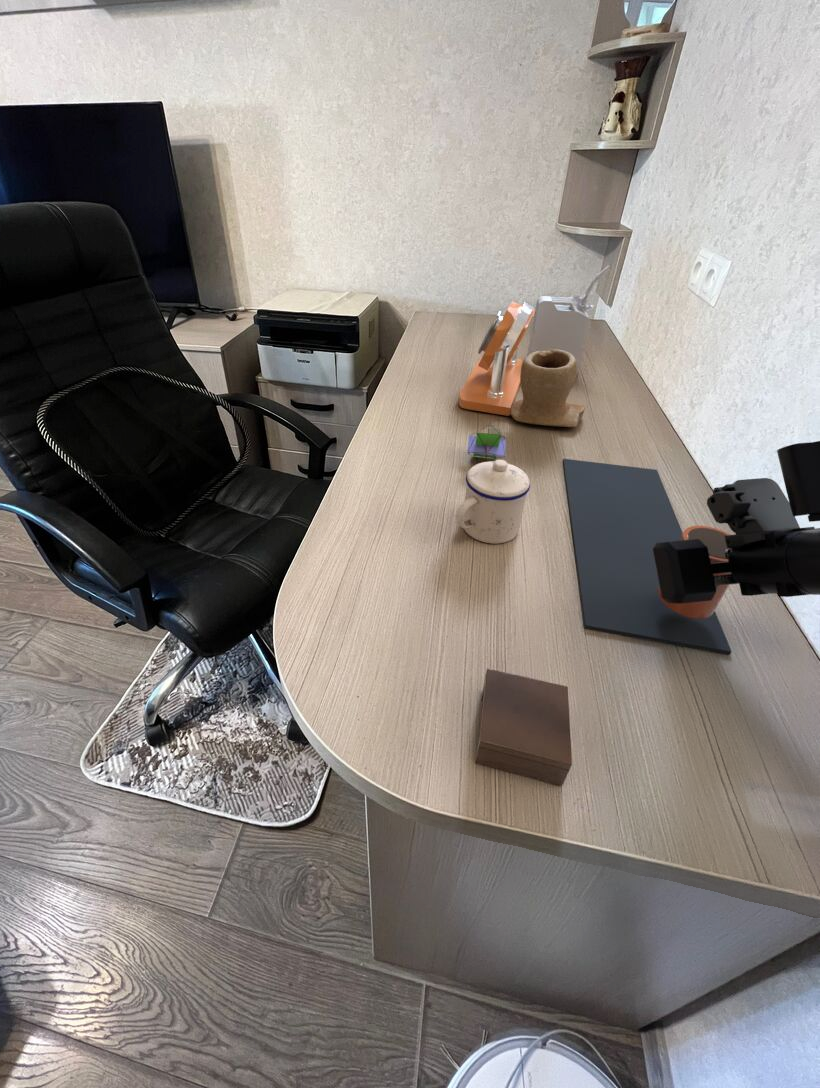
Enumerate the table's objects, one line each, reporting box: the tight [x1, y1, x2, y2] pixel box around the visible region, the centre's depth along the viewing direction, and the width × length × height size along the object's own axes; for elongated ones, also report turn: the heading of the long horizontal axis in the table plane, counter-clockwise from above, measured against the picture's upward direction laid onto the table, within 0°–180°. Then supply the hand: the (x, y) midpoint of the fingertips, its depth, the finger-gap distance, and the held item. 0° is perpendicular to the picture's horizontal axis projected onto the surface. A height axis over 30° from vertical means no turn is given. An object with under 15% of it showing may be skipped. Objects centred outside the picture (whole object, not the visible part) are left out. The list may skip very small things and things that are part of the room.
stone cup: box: [509, 349, 586, 428], centre depth 102 cm, size 15×12×15 cm
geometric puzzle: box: [466, 423, 507, 462], centre depth 91 cm, size 7×7×8 cm
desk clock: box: [458, 301, 535, 417], centre depth 115 cm, size 12×30×20 cm, turn 159°
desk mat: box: [562, 458, 733, 655], centre depth 75 cm, size 40×16×1 cm, turn 166°
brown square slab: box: [474, 668, 573, 787], centre depth 49 cm, size 8×8×4 cm
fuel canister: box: [526, 265, 612, 372], centre depth 124 cm, size 15×5×25 cm, turn 80°
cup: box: [657, 525, 732, 619], centre depth 58 cm, size 6×6×9 cm
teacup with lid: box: [455, 459, 531, 545], centre depth 73 cm, size 12×9×12 cm
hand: (690, 567), depth 60 cm, fingers closed on cup, 6 cm apart
